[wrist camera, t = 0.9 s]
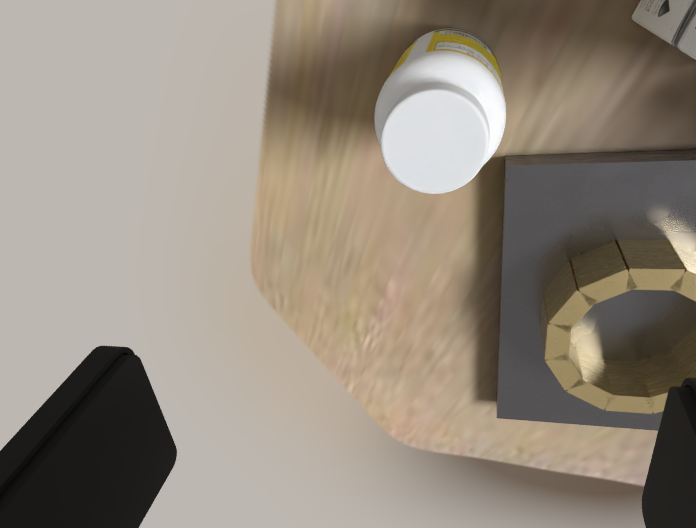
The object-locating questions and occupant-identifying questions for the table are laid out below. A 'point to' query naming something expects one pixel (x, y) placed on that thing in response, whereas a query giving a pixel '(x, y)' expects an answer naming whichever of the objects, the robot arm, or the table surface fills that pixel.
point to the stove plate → (570, 228)
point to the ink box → (670, 22)
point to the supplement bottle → (441, 111)
